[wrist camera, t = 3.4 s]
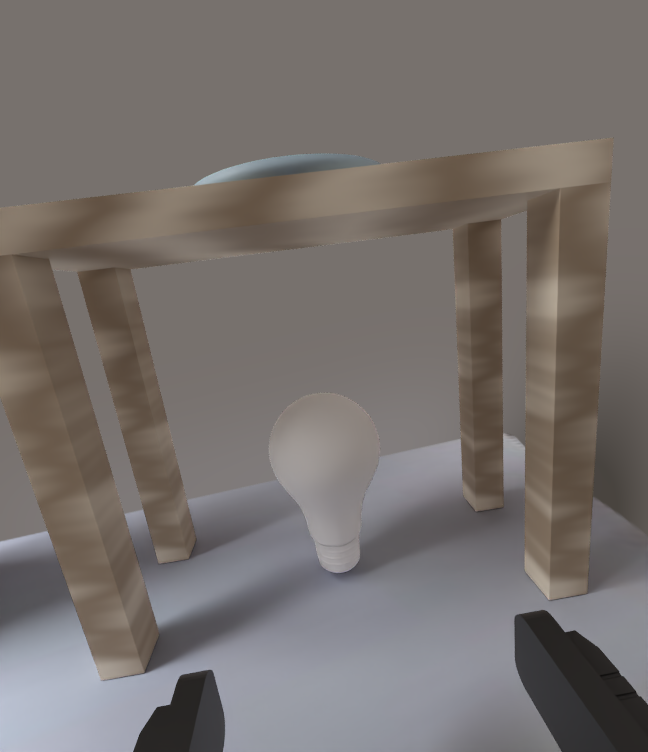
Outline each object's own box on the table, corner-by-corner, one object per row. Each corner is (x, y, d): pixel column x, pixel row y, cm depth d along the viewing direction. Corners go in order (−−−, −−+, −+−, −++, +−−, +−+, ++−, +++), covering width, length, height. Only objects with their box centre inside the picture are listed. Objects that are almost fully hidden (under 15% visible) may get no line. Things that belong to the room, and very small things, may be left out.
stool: (101, 680, 17) (-72, 195, 12) (168, 543, 26) (86, 236, 21) (587, 593, 18) (614, 118, 13) (488, 491, 27) (482, 189, 22)
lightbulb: (395, 611, 19) (376, 410, 16) (281, 611, 20) (244, 420, 17) (388, 532, 25) (373, 375, 22) (300, 535, 25) (275, 384, 23)
